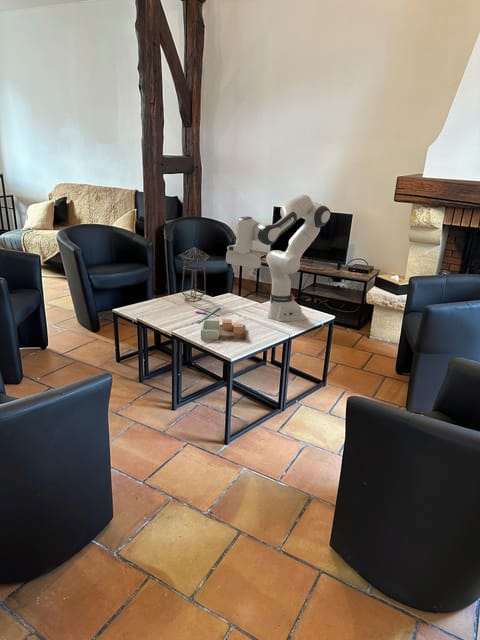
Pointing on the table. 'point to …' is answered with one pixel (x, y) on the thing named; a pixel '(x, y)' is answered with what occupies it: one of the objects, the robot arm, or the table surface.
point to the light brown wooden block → (227, 324)
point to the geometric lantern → (193, 270)
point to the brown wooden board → (231, 334)
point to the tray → (210, 329)
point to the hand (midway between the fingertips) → (242, 274)
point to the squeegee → (206, 314)
